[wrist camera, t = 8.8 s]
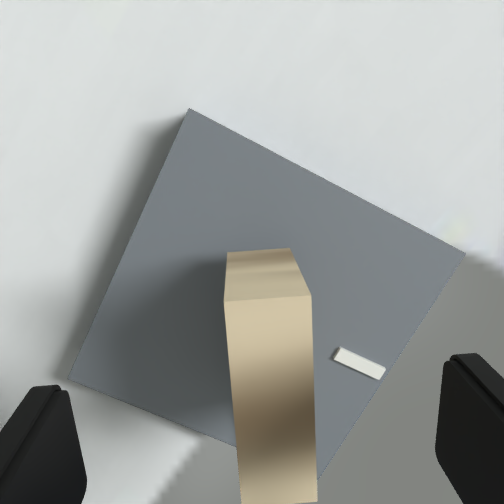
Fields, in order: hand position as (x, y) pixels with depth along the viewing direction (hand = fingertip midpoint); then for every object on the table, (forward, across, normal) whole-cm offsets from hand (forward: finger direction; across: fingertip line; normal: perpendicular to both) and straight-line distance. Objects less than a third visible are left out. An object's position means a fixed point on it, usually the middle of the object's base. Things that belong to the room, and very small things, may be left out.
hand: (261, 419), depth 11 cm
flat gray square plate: (+10, -1, +2) cm, 10 cm away
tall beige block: (+8, -1, +3) cm, 8 cm away
